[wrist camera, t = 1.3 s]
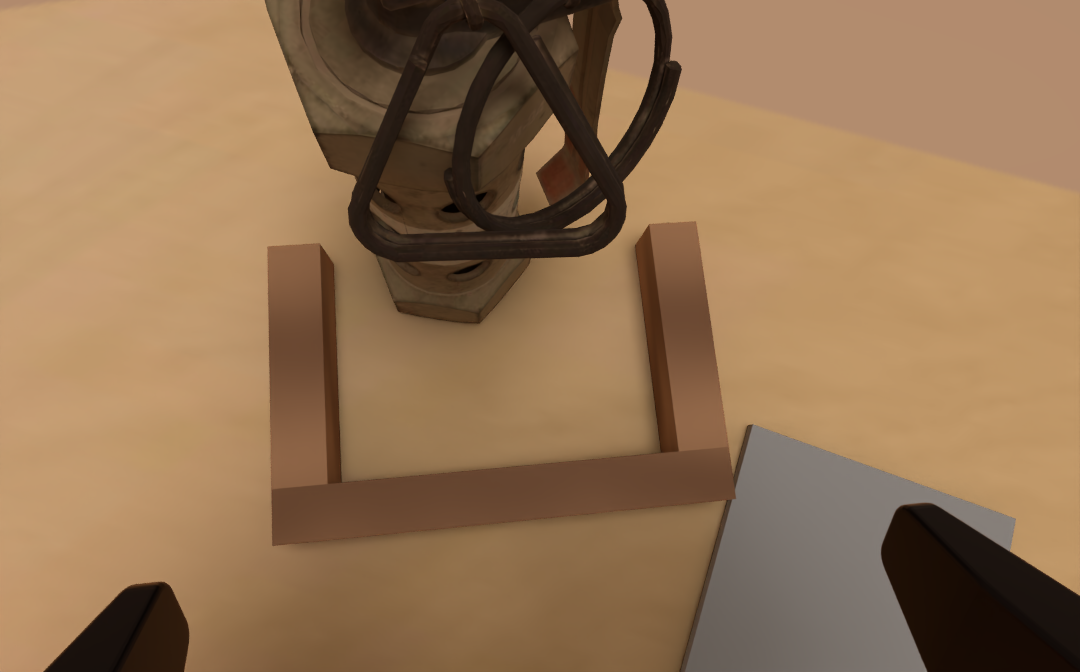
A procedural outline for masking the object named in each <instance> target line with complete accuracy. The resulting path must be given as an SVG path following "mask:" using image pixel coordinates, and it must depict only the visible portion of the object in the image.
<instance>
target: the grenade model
mask: <svg viewBox="0 0 1080 672" xmlns="http://www.w3.org/2000/svg"><path fill="white" fill-rule="evenodd" d="M643 1H644V2H645V3H646V5H647V7H648V10H649V12H650V14H651V17H652V20H653V24H654V30H655V50H654V63H653V67H652V71H651V75H650V79H649V83H648V87H647V89H646V92H645V95H644V97H643V100H642V102H641V105H640V108H639V110H638V112H637V113H636V115H635V117H634V119H633V121H632V123H631V125H630V127H629V129H628V130H627V132H626V133H625V135H624V136H623V138H622V139H621V141H620V142H619V144H618V145H617V147H616V148H615V150H614V151H613V152H612V153H611V155H610V156H609V157H608V156H607V154H606V152H605V151H604V149H603V147H602V145H601V143H600V142H599V140H598V138H597V127H598V120H599V114H600V108H601V101H602V95H603V89H604V83H605V77H606V72H607V67H608V62H609V57H610V52H611V47H612V43H613V38H614V34H615V33H616V30H617V28H618V26H619V24H620V22H621V20H622V16H621V13H620V10H619V4H618V0H265V3H266V7H267V11H268V14H269V16H270V19H271V22H272V25H273V27H274V30H275V33H276V36H277V38H278V41H279V44H280V46H281V49H282V52H283V54H284V57H285V60H286V62H287V65H288V68H289V70H290V73H291V76H292V78H293V81H294V84H295V86H296V89H297V92H298V94H299V97H300V99H301V102H302V105H303V107H304V110H305V112H306V115H307V117H308V120H309V123H310V125H311V128H312V130H313V133H314V135H315V137H316V139H317V141H318V143H319V146H320V148H321V150H322V152H323V154H324V156H325V158H326V160H327V162H328V164H329V167H330V168H331V169H334V170H337V171H341V172H344V173H347V174H350V175H354V176H355V178H356V181H357V183H356V185H355V187H354V190H353V192H352V199H351V202H350V205H349V207H348V215H349V225H350V227H351V229H352V231H353V233H354V235H355V237H356V238H357V239H358V240H359V241H360V242H361V243H362V244H363V246H364V247H365V248H367V249H368V250H370V251H371V252H373V253H374V254H376V257H377V259H378V262H379V265H380V267H381V270H382V272H383V275H384V278H385V280H386V283H387V285H388V288H389V291H390V293H391V296H392V298H393V301H394V303H395V305H396V307H397V309H398V311H399V312H404V313H409V314H413V315H418V316H424V317H429V318H435V319H442V320H449V321H456V322H470V323H480V322H481V321H482V320H483V319H484V318H485V317H486V316H487V314H488V313H489V312H490V311H491V310H492V309H493V308H494V307H495V306H496V305H497V303H498V302H499V301H500V300H501V299H502V298H503V296H504V295H505V294H506V293H507V291H508V290H509V289H510V288H511V287H512V285H513V284H514V283H515V282H516V280H517V279H518V278H519V276H520V275H521V274H522V273H523V271H524V270H525V269H526V267H527V266H528V265H529V263H530V259H531V258H555V257H580V256H584V255H588V254H592V253H594V252H596V251H598V250H600V249H602V248H604V247H606V246H607V245H608V244H609V243H610V242H611V241H612V240H613V239H614V238H615V237H616V236H617V235H618V233H619V232H620V230H621V228H622V226H623V224H624V221H625V218H626V208H627V206H626V201H625V195H624V186H623V183H622V182H623V180H624V179H625V178H626V177H627V176H628V175H629V174H630V173H631V172H632V170H633V169H634V168H635V166H636V165H637V164H638V162H639V161H640V159H641V158H642V156H643V155H644V154H645V152H646V151H647V149H648V148H649V147H650V145H651V143H652V142H653V140H654V138H655V136H656V134H657V133H658V131H659V129H660V127H661V126H662V124H663V121H664V119H665V117H666V115H667V112H668V110H669V108H670V105H671V103H672V101H673V99H674V96H675V92H676V88H677V85H678V81H679V77H680V74H681V70H682V69H681V66H680V65H679V63H678V62H677V61H670V52H671V43H672V32H671V24H670V18H669V12H668V9H667V6H666V3H665V1H664V0H643ZM573 13H574V16H573V29H572V28H571V25H570V22H569V19H568V16H567V15H570V14H573ZM669 61H670V62H669ZM553 113H554V115H555V116H556V118H557V120H558V121H559V123H560V125H561V126H562V128H563V129H564V131H565V144H564V146H563V148H562V149H561V150H560V151H559V152H557V153H556V154H555V155H554V156H553V157H552V158H551V159H550V160H549V161H548V162H547V163H546V164H545V165H544V166H543V167H542V168H541V169H540V170H539V171H538V172H537V173H536V174H537V177H538V179H539V181H540V184H541V186H542V188H543V191H544V193H545V195H546V198H547V200H548V202H549V205H551V206H549V207H547V208H544V209H542V210H539V211H537V212H535V213H531V214H526V215H521V216H519V213H518V211H517V206H518V199H519V186H520V180H521V176H522V169H523V161H524V152H525V147H526V146H527V145H528V144H529V143H530V142H531V141H532V140H533V138H534V137H535V136H536V135H537V133H538V132H539V131H540V129H541V128H542V127H543V125H544V124H545V123H546V122H547V120H548V119H549V118H550V116H551V115H552V114H553ZM589 172H590V173H591V175H592V176H591V177H590V178H589ZM380 190H381V194H380V193H379V191H380ZM604 199H607V204H606V207H605V211H604V212H603V213H602V214H601V215H600V216H599V217H598V218H597V219H596V220H595V221H594V222H592V223H591V224H589V225H586V226H582V227H578V228H568V229H563V228H564V227H566V226H568V225H569V224H571V223H573V222H574V221H576V220H578V219H579V218H581V217H583V216H584V215H586V214H588V213H589V212H591V211H592V210H593V209H594V208H595V207H596V206H597V205H599V204H600V203H601V202H602V201H603V200H604Z"/></svg>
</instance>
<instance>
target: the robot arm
mask: <svg viewBox="0 0 1080 672" xmlns="http://www.w3.org/2000/svg"><path fill="white" fill-rule="evenodd" d="M881 559H882V563H883V566H884V569H885V571H886V574H887V576H888V579H889V581H890V584H891V586H892V588H893V591H894V593H895V596H896V598H897V601H898V603H899V605H900V608H901V610H902V613H903V615H904V618H905V620H906V622H907V625H908V627H909V630H910V632H911V635H912V637H913V639H914V642H915V644H916V647H917V649H918V652H919V654H920V656H921V659H922V661H923V663H924V666H925V668H926V670H927V672H1080V596H1079V595H1078V594H1076V593H1075V592H1073V591H1071V590H1070V589H1068V588H1067V587H1065V586H1064V585H1062V584H1060V583H1059V582H1057V581H1056V580H1054V579H1053V578H1051V577H1049V576H1048V575H1046V574H1045V573H1043V572H1042V571H1040V570H1038V569H1037V568H1035V567H1034V566H1032V565H1031V564H1029V563H1027V562H1026V561H1024V560H1023V559H1021V558H1019V557H1018V556H1016V555H1015V554H1013V553H1012V552H1010V551H1008V550H1007V549H1005V548H1004V547H1002V546H1001V545H999V544H997V543H996V542H994V541H993V540H991V539H990V538H988V537H986V536H985V535H983V534H982V533H980V532H978V531H977V530H975V529H974V528H972V527H971V526H969V525H967V524H966V523H964V522H963V521H961V520H960V519H958V518H956V517H955V516H953V515H952V514H950V513H949V512H947V511H945V510H944V509H942V508H941V507H939V506H937V505H935V504H932V503H915V504H905V505H901V506H900V507H898V508H897V509H896V511H895V512H894V515H893V517H892V520H891V522H890V525H889V527H888V530H887V532H886V535H885V537H884V540H883V543H882V546H881ZM188 645H189V627H188V623H187V620H186V618H185V616H184V614H183V612H182V610H181V607H180V605H179V603H178V601H177V599H176V597H175V595H174V592H173V590H172V588H171V587H170V585H168V584H167V583H165V582H152V583H143V584H135V585H131V586H129V587H127V588H126V589H124V590H123V591H122V592H121V593H119V594H118V596H117V597H116V598H115V599H114V600H113V601H112V602H111V603H110V604H109V605H108V606H107V607H106V608H105V609H104V610H103V611H102V612H101V613H100V614H99V615H98V616H97V617H96V618H95V619H94V620H93V621H92V622H91V623H90V624H89V625H88V626H87V627H86V628H85V629H84V630H83V631H82V633H81V634H80V635H79V636H78V637H77V638H76V639H75V640H74V641H73V642H72V643H71V644H70V645H69V646H68V647H67V648H66V649H65V650H64V651H63V652H62V653H61V654H60V655H59V656H58V657H57V658H56V659H55V660H54V661H53V662H52V663H51V664H50V665H49V666H48V667H47V668H46V670H45V671H44V672H184V669H185V663H186V657H187V651H188Z"/></svg>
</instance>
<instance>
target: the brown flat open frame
mask: <svg viewBox="0 0 1080 672" xmlns="http://www.w3.org/2000/svg"><path fill="white" fill-rule="evenodd" d="M635 247H636V255H637V263H638V271H639V279H640V287H641V295H642V303H643V311H644V319H645V327H646V335H647V343H648V351H649V359H650V367H651V375H652V383H653V391H654V399H655V407H656V415H657V423H658V431H659V439H660V447H661V453H656V454H645V455H635V456H624V457H613V458H602V459H592V460H581V461H570V462H559V463H549V464H538V465H527V466H516V467H506V468H495V469H484V470H473V471H462V472H452V473H441V474H430V475H419V476H409V477H398V478H387V479H376V480H366V481H355V482H344V483H341V458H340V430H339V402H338V375H337V347H336V319H335V291H334V264H333V263H332V261H331V260H330V258H329V257H328V255H327V254H326V252H325V251H324V249H323V248H322V246H321V245H320V244H303V245H286V246H269V247H268V305H269V366H270V426H271V486H272V546H276V545H286V544H296V543H306V542H315V541H325V540H335V539H345V538H355V537H365V536H375V535H385V534H395V533H405V532H415V531H424V530H434V529H444V528H454V527H464V526H474V525H484V524H494V523H504V522H514V521H524V520H533V519H543V518H553V517H563V516H573V515H583V514H593V513H603V512H613V511H623V510H633V509H642V508H652V507H662V506H672V505H682V504H692V503H702V502H712V501H722V500H732V499H736V494H735V487H734V480H733V474H732V467H731V460H730V453H729V446H728V439H727V432H726V425H725V418H724V411H723V404H722V397H721V390H720V383H719V377H718V370H717V363H716V356H715V349H714V342H713V335H712V328H711V321H710V314H709V307H708V300H707V293H706V286H705V280H704V273H703V266H702V259H701V252H700V245H699V238H698V231H697V224H696V221H695V222H678V223H661V224H649V225H648V227H647V228H646V230H645V232H644V233H643V235H642V236H641V238H640V239H639V241H638V242H637V244H636V245H635Z"/></svg>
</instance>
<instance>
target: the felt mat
mask: <svg viewBox="0 0 1080 672" xmlns="http://www.w3.org/2000/svg"><path fill="white" fill-rule="evenodd" d="M733 480H734V487H735V494H736V499H732V500H728V501H727V504H726V508H725V512H724V515H723V519H722V522H721V526H720V530H719V533H718V537H717V541H716V544H715V548H714V551H713V555H712V559H711V562H710V566H709V570H708V573H707V577H706V580H705V584H704V588H703V591H702V595H701V599H700V602H699V606H698V609H697V613H696V617H695V620H694V624H693V627H692V631H691V635H690V638H689V642H688V646H687V649H686V653H685V656H684V660H683V664H682V667H681V671H680V672H927V670H926V668H925V666H924V663H923V661H922V659H921V656H920V654H919V652H918V649H917V647H916V644H915V642H914V639H913V637H912V635H911V632H910V630H909V627H908V625H907V622H906V620H905V618H904V615H903V613H902V610H901V608H900V605H899V603H898V601H897V598H896V596H895V593H894V591H893V588H892V586H891V584H890V581H889V579H888V576H887V574H886V571H885V569H884V566H883V563H882V559H881V546H882V543H883V540H884V537H885V535H886V532H887V530H888V527H889V525H890V522H891V520H892V517H893V515H894V512H895V511H896V509H897V508H898V507H900V506H901V505H905V504H915V503H932V504H935V505H937V506H939V507H941V508H942V509H944V510H945V511H947V512H949V513H950V514H952V515H953V516H955V517H956V518H958V519H960V520H961V521H963V522H964V523H966V524H967V525H969V526H971V527H972V528H974V529H975V530H977V531H978V532H980V533H982V534H983V535H985V536H986V537H988V538H990V539H991V540H993V541H994V542H996V543H997V544H999V545H1001V546H1002V547H1004V548H1005V549H1007V550H1008V551H1010V548H1011V543H1012V537H1013V532H1014V526H1015V520H1016V519H1015V518H1012V517H1009V516H1007V515H1004V514H1001V513H998V512H996V511H993V510H990V509H987V508H984V507H982V506H979V505H976V504H973V503H970V502H968V501H965V500H962V499H959V498H957V497H954V496H951V495H948V494H945V493H943V492H940V491H937V490H934V489H931V488H929V487H926V486H923V485H920V484H918V483H915V482H912V481H909V480H906V479H904V478H901V477H898V476H895V475H892V474H890V473H887V472H884V471H881V470H878V469H876V468H873V467H870V466H867V465H865V464H862V463H859V462H856V461H853V460H851V459H848V458H845V457H842V456H839V455H837V454H834V453H831V452H828V451H826V450H823V449H820V448H817V447H814V446H812V445H809V444H806V443H803V442H800V441H798V440H795V439H792V438H789V437H787V436H784V435H781V434H778V433H775V432H773V431H770V430H767V429H764V428H761V427H759V426H756V425H748V428H747V432H746V436H745V439H744V443H743V446H742V450H741V454H740V457H739V461H738V465H737V468H736V472H735V475H734V479H733Z"/></svg>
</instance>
